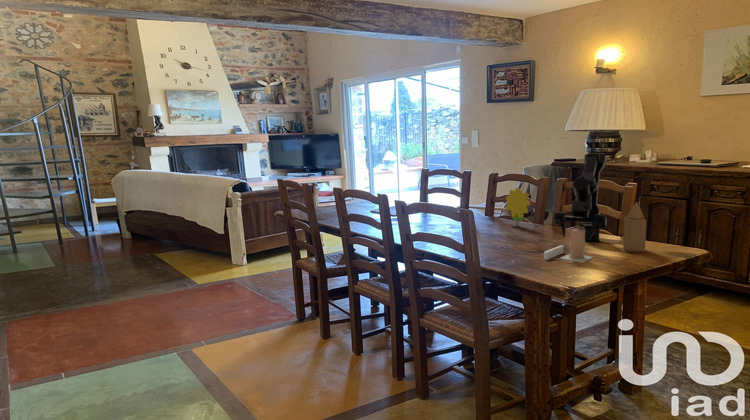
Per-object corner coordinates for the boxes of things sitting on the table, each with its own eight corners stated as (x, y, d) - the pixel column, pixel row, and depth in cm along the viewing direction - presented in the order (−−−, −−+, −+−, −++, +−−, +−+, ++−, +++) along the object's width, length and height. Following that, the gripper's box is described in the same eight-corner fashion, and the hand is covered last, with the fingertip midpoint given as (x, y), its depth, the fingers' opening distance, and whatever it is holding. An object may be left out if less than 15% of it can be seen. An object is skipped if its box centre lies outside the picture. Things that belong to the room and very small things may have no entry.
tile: (570, 254, 195) (570, 253, 195) (593, 257, 189) (593, 256, 189) (559, 258, 189) (559, 257, 189) (582, 262, 183) (582, 261, 183)
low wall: (560, 252, 199) (560, 245, 198) (563, 252, 198) (563, 245, 197) (543, 259, 189) (544, 251, 189) (546, 259, 188) (546, 252, 188)
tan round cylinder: (576, 254, 192) (577, 227, 191) (587, 258, 187) (588, 230, 186) (565, 256, 191) (566, 229, 189) (576, 259, 186) (577, 231, 184)
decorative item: (530, 228, 247) (530, 188, 244) (528, 228, 246) (528, 189, 243) (507, 223, 260) (507, 186, 257) (505, 223, 260) (506, 186, 256)
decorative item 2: (645, 252, 194) (648, 202, 191) (627, 252, 195) (629, 202, 192) (639, 248, 200) (642, 200, 197) (622, 248, 202) (624, 200, 198)
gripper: (555, 192, 193) (548, 224, 186) (606, 193, 183) (601, 228, 176) (559, 208, 201) (552, 240, 194) (608, 211, 191) (603, 244, 184)
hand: (576, 237), depth 186 cm, fingers open, 9 cm apart
